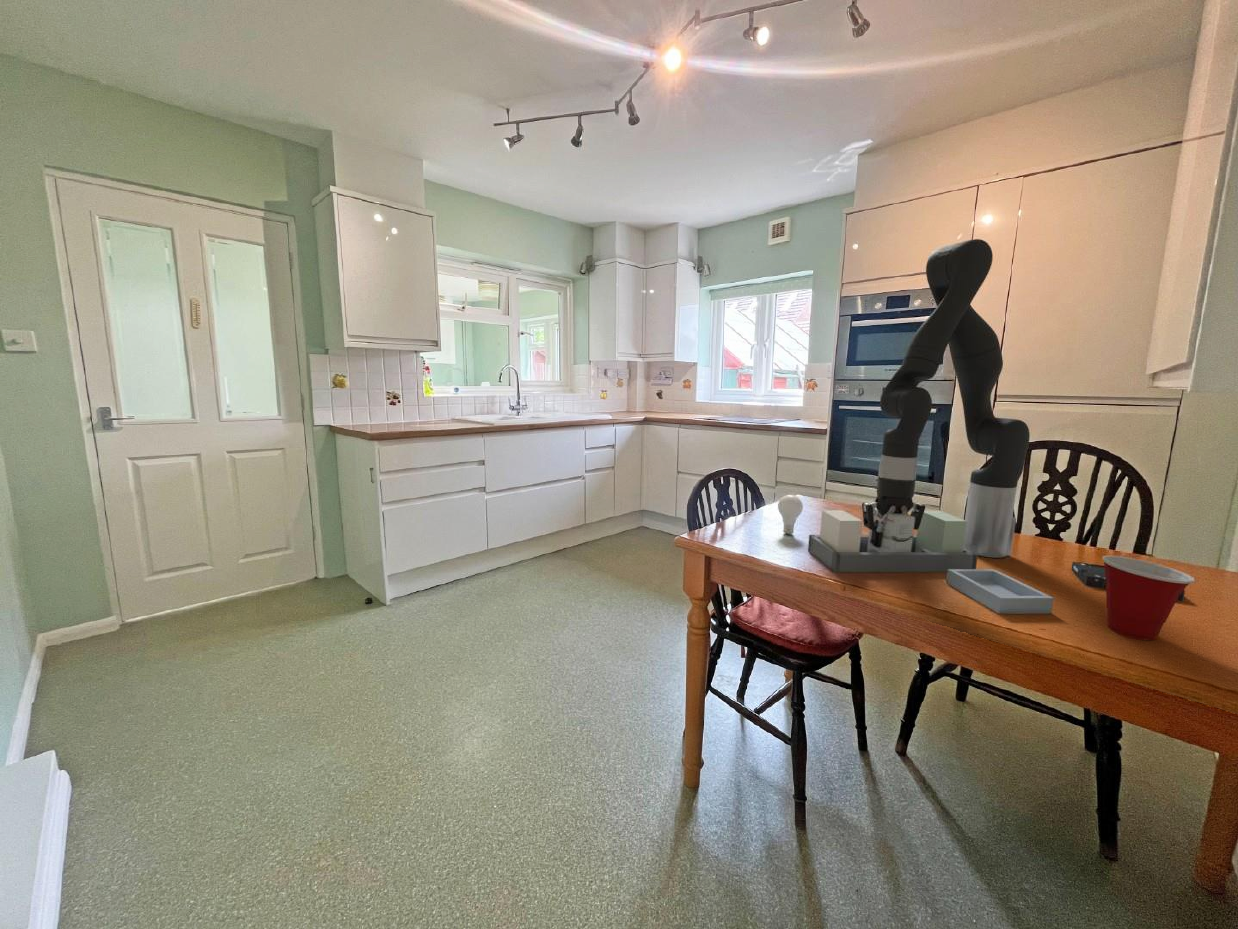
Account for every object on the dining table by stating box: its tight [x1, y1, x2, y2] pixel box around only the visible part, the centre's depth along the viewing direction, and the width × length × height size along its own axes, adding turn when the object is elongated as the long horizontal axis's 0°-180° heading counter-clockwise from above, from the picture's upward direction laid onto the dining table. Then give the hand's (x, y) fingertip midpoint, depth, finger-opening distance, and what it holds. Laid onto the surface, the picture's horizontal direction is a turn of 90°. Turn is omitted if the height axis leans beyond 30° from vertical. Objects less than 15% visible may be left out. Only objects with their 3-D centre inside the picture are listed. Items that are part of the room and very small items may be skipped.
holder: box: [807, 534, 979, 573], centre depth 117 cm, size 32×14×4 cm, turn 93°
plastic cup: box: [1101, 555, 1195, 641], centre depth 84 cm, size 11×11×12 cm
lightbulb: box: [777, 494, 804, 535], centre depth 136 cm, size 6×6×11 cm
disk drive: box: [1070, 561, 1186, 602], centre depth 106 cm, size 10×3×15 cm
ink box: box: [867, 508, 915, 552], centre depth 117 cm, size 8×5×12 cm, turn 13°
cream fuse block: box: [819, 509, 863, 552], centre depth 116 cm, size 5×9×11 cm, turn 3°
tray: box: [945, 568, 1055, 615], centre depth 98 cm, size 10×14×3 cm
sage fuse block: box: [915, 510, 967, 552], centre depth 117 cm, size 5×9×11 cm, turn 3°
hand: (888, 546), depth 117 cm, fingers closed on ink box, 5 cm apart
